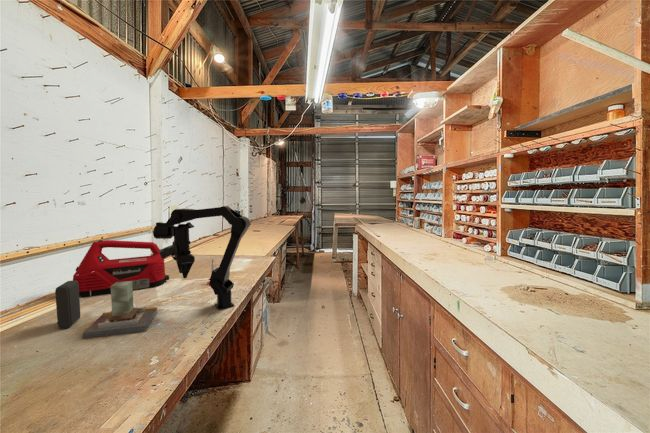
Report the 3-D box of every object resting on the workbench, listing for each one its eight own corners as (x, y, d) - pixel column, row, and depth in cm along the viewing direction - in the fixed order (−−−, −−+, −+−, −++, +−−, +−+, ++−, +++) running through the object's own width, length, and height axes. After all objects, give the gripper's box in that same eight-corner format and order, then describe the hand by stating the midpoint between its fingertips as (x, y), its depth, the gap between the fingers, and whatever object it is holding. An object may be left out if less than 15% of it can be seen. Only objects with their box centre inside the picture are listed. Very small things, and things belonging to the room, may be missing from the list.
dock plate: (157, 312, 114) (157, 304, 114) (145, 331, 99) (145, 321, 98) (103, 318, 108) (103, 309, 108) (82, 338, 93) (81, 328, 93)
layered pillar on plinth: (137, 313, 108) (136, 279, 107) (131, 321, 101) (129, 285, 100) (116, 315, 106) (114, 281, 105) (108, 324, 99) (105, 287, 98)
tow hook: (230, 283, 153) (217, 280, 157) (230, 260, 151) (217, 257, 155) (218, 288, 145) (205, 285, 149) (218, 263, 144) (205, 260, 148)
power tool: (170, 285, 148) (168, 237, 146) (68, 300, 126) (64, 244, 124) (167, 278, 161) (166, 234, 159) (75, 290, 139) (71, 239, 138)
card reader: (68, 319, 108) (66, 280, 106) (82, 317, 109) (79, 279, 108) (56, 330, 99) (53, 288, 98) (70, 328, 100) (67, 286, 99)
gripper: (157, 237, 122) (158, 273, 123) (162, 243, 107) (163, 284, 108) (185, 235, 129) (186, 269, 130) (194, 241, 113) (195, 279, 115)
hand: (182, 275), depth 120 cm, fingers open, 9 cm apart
